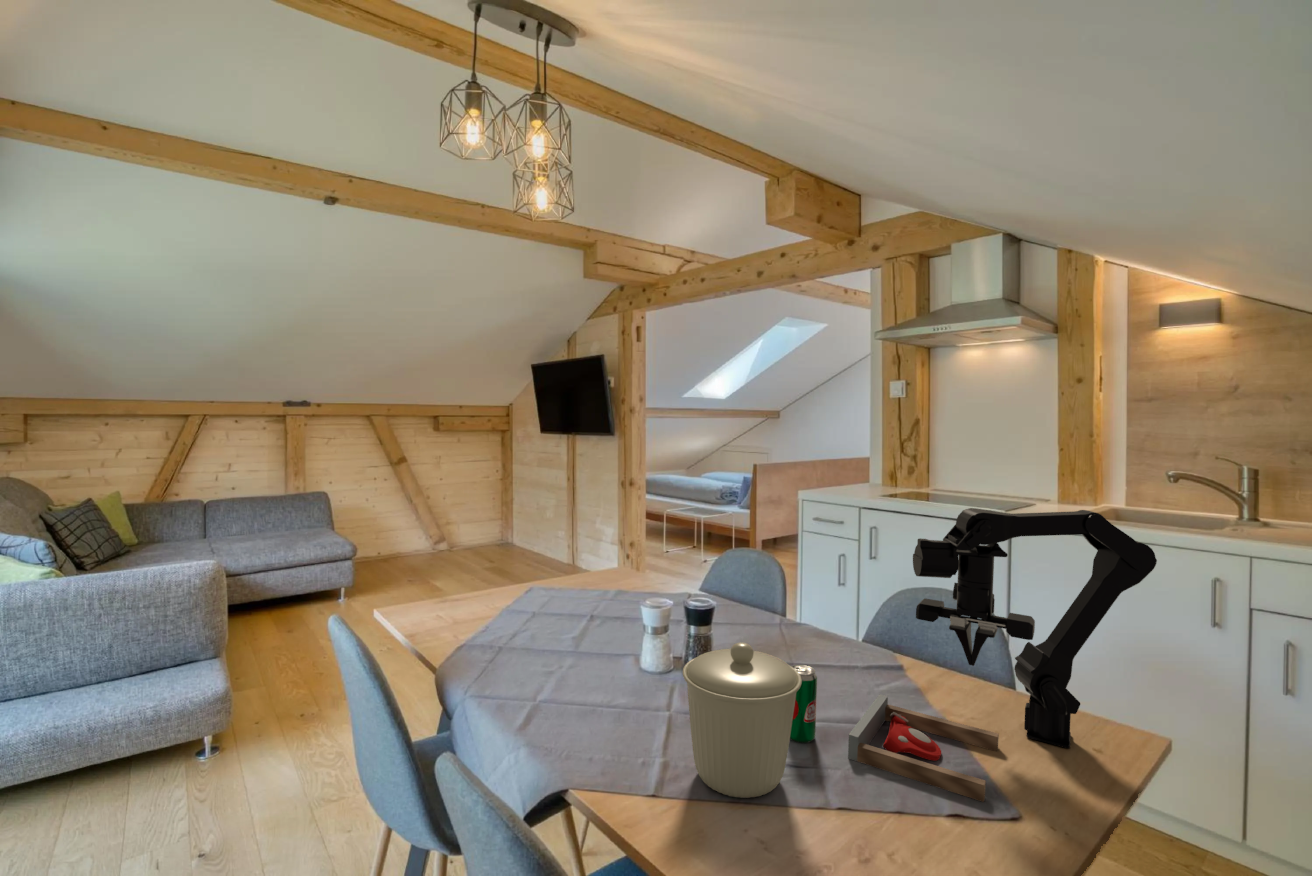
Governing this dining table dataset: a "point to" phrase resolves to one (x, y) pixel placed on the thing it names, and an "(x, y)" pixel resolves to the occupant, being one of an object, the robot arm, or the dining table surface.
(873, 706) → the end stop
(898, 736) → the tracker holder
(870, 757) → the walnut channel
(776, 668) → the canister
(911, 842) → the dining table surface
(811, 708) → the soda can
